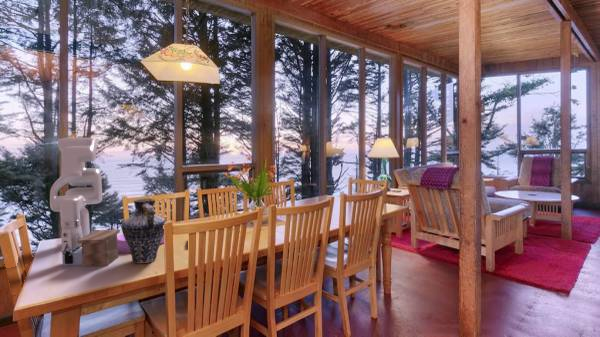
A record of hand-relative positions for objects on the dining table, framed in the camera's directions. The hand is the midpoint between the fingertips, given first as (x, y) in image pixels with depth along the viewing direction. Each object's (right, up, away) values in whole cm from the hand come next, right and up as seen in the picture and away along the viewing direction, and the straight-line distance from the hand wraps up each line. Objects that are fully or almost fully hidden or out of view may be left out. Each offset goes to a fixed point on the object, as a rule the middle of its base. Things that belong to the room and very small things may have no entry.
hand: (73, 260), depth 159 cm
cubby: (+12, -1, +1) cm, 13 cm away
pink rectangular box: (+21, +1, +26) cm, 33 cm away
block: (+6, -1, +1) cm, 6 cm away
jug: (+33, -1, +3) cm, 34 cm away
